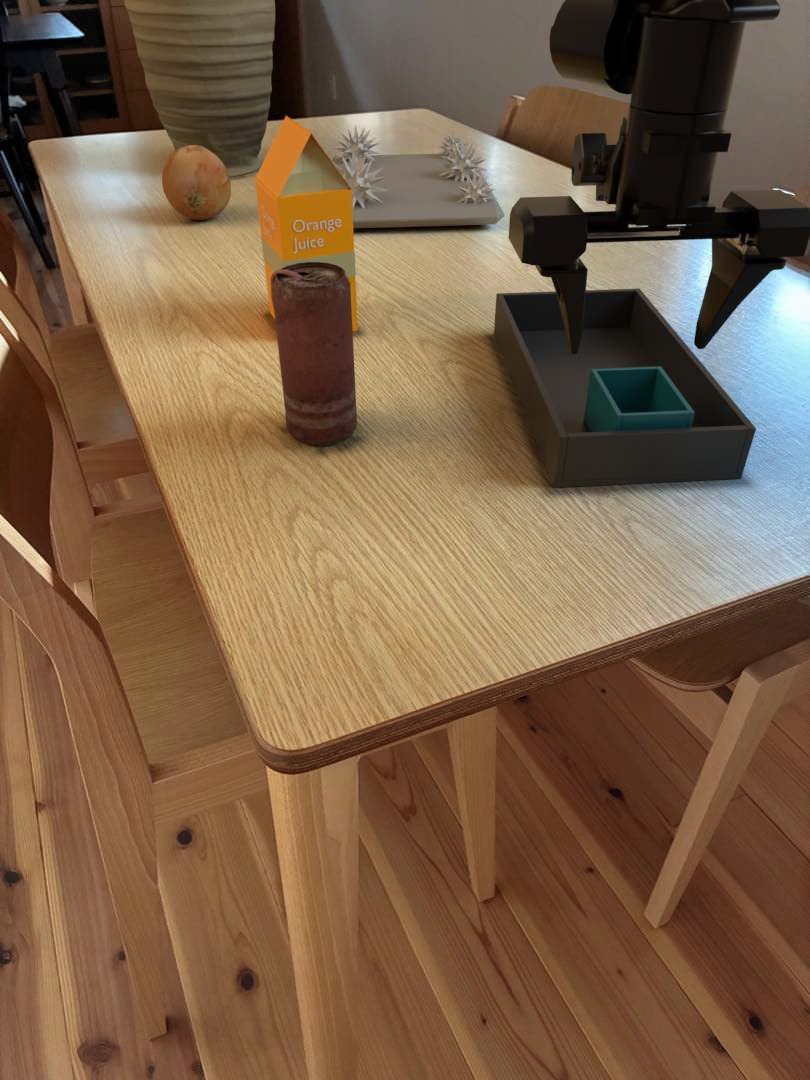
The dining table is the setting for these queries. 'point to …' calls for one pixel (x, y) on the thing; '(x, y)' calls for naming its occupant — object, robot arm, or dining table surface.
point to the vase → (209, 72)
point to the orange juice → (304, 208)
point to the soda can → (315, 351)
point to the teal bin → (634, 401)
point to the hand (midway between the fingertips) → (636, 349)
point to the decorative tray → (416, 186)
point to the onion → (196, 182)
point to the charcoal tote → (614, 342)
